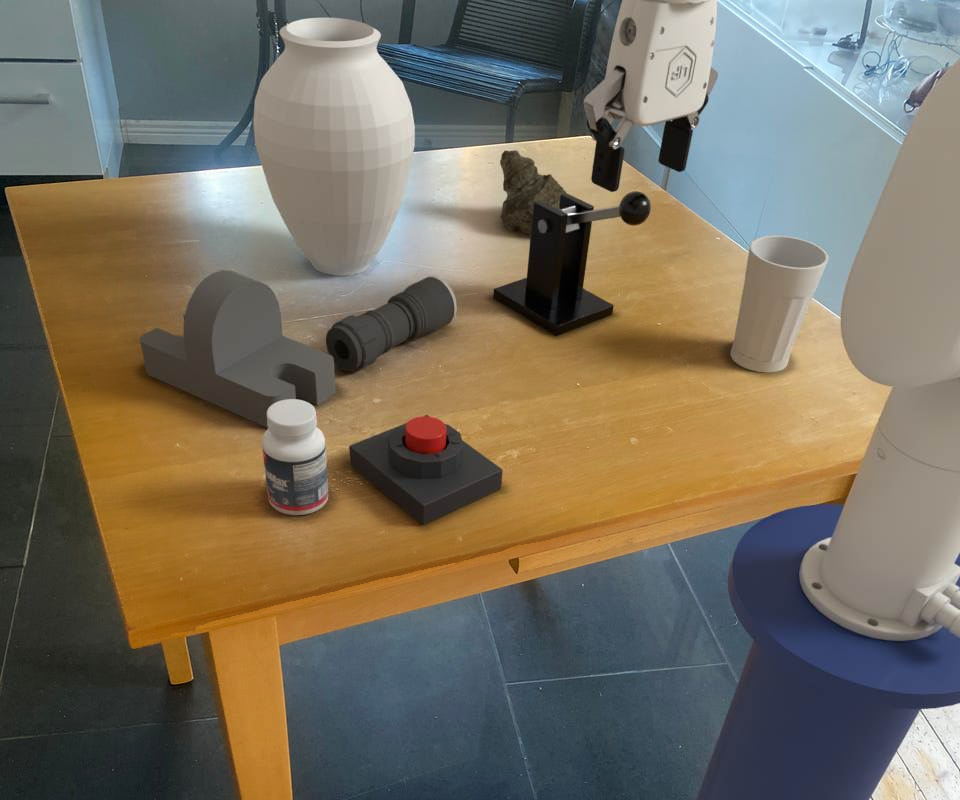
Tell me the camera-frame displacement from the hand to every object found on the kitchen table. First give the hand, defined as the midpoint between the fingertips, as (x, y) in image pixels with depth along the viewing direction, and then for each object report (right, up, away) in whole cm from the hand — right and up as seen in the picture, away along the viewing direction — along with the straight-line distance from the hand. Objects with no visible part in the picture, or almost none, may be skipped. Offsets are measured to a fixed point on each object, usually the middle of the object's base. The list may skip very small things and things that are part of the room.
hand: (638, 176), depth 98 cm
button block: (-21, -31, -8) cm, 38 cm away
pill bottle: (-32, -34, -11) cm, 48 cm away
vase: (-33, 0, +23) cm, 40 cm away
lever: (-3, -3, +7) cm, 8 cm away
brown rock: (-8, +8, +33) cm, 35 cm away
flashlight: (-25, -14, +9) cm, 30 cm away
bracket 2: (-7, -7, +17) cm, 20 cm away
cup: (+15, -15, +12) cm, 24 cm away
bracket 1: (-40, -20, +2) cm, 45 cm away
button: (-21, -29, -10) cm, 37 cm away
